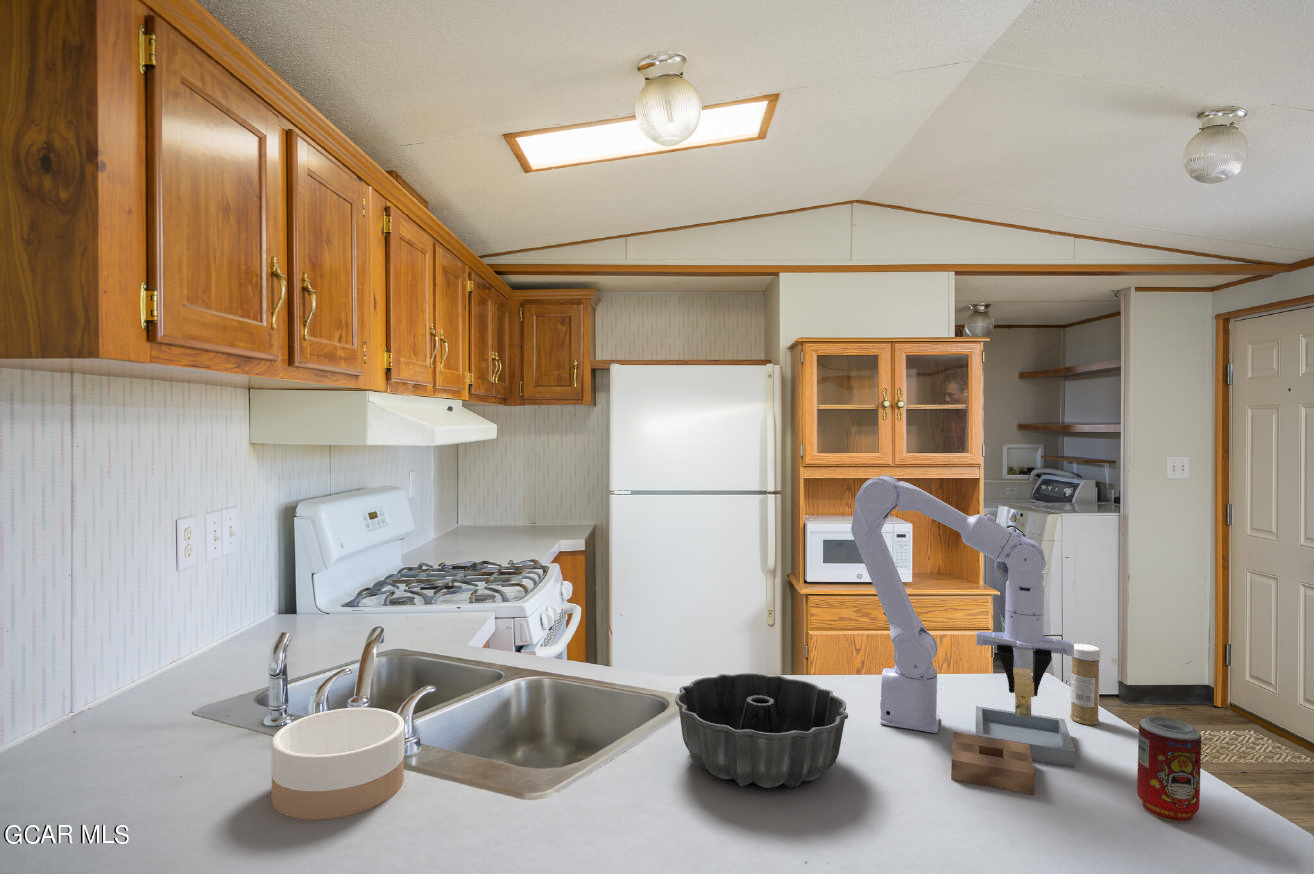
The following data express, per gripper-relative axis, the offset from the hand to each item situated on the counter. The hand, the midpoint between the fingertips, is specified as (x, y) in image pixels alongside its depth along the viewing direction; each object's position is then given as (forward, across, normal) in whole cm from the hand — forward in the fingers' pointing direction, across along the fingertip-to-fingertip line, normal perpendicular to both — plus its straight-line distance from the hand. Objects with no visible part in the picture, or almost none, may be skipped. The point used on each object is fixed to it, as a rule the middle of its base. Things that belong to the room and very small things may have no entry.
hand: (1022, 692), depth 123 cm
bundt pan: (+8, -38, -26) cm, 47 cm away
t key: (+4, 0, 0) cm, 4 cm away
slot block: (+8, -5, -14) cm, 17 cm away
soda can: (+8, +17, -17) cm, 26 cm away
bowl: (+8, -90, -59) cm, 108 cm away
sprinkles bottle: (+8, +11, +15) cm, 20 cm away
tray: (+8, 0, 0) cm, 8 cm away
